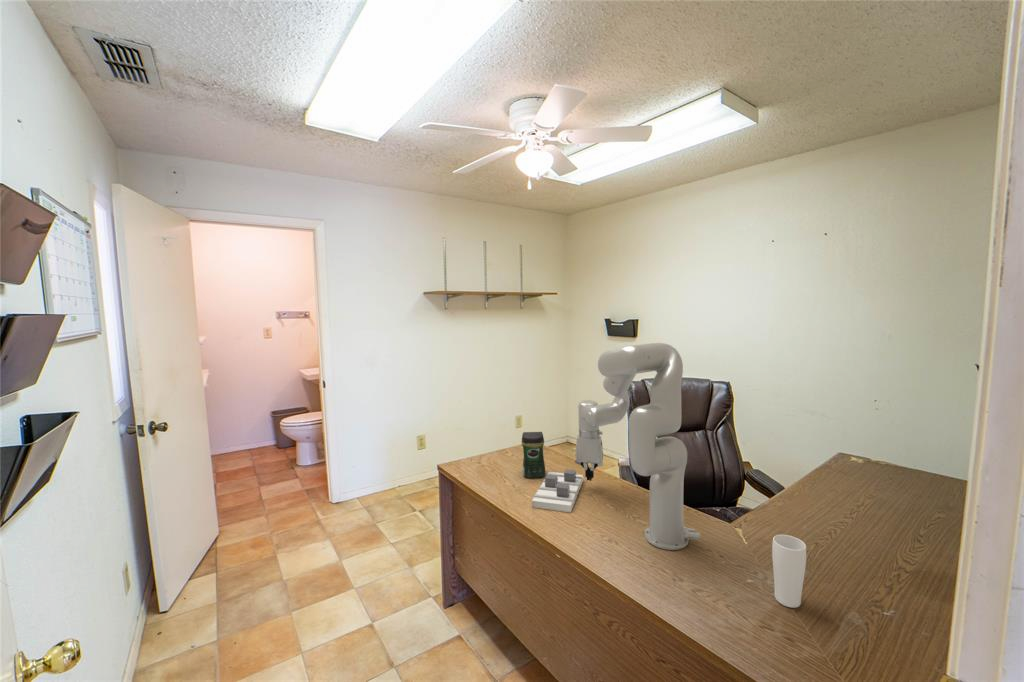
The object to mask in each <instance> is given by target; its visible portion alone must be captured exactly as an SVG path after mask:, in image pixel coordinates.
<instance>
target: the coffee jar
mask: <svg viewBox="0 0 1024 682" xmlns="http://www.w3.org/2000/svg"><path fill="white" fill-rule="evenodd" d="M544 438H545V437H544V433H543V431H524V432H522V435H521V441H520V442H521V445H522V449H523V458H522V459H523V461H522V475H523V477H524V478H527V479H529V478H530V479H534V478H535V479H537V478H543V477H546V463H545V457H544V446H545V439H544Z"/></svg>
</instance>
